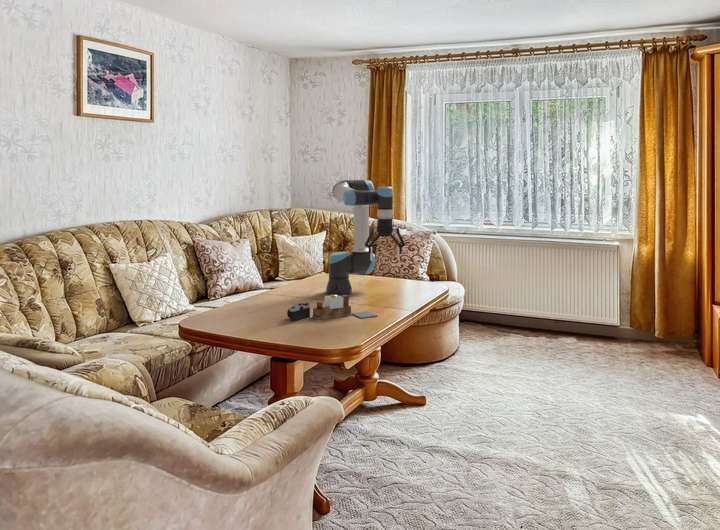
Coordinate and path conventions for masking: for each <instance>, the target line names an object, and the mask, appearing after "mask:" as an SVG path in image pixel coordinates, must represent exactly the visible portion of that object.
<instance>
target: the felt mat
mask: <svg viewBox="0 0 720 530" xmlns="http://www.w3.org/2000/svg"><path fill="white" fill-rule="evenodd" d="M351 314H352V315H351V316H355V318H358V319H361V320H362V319H369V318H377V317H378V315H377V314H375V313H373V312H370V311H368V310H366V311H365V310H364V311H357V312H351Z"/></svg>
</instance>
